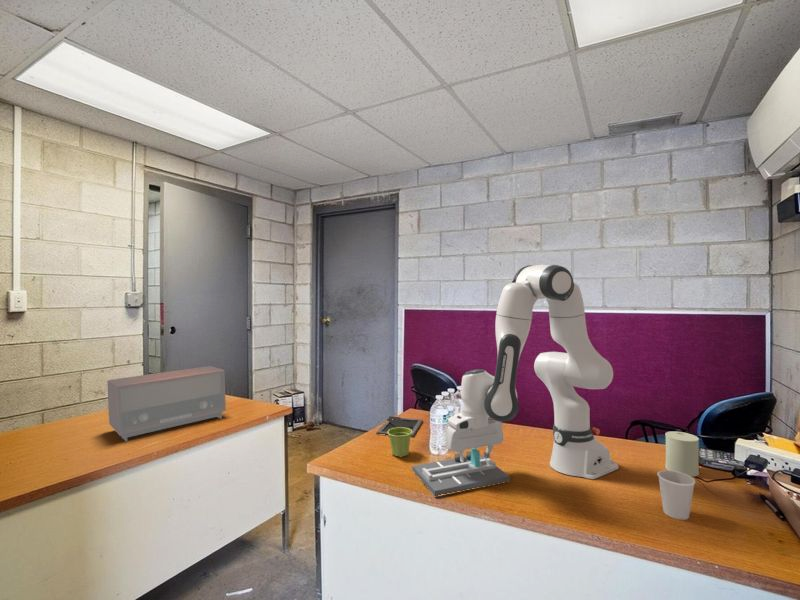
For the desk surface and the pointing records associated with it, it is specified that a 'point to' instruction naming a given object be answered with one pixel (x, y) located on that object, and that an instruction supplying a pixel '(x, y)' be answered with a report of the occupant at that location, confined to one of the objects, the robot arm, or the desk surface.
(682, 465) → the can
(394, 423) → the picture frame
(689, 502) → the dixie cup
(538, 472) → the desk surface
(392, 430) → the plant pot
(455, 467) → the console
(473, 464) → the fader
